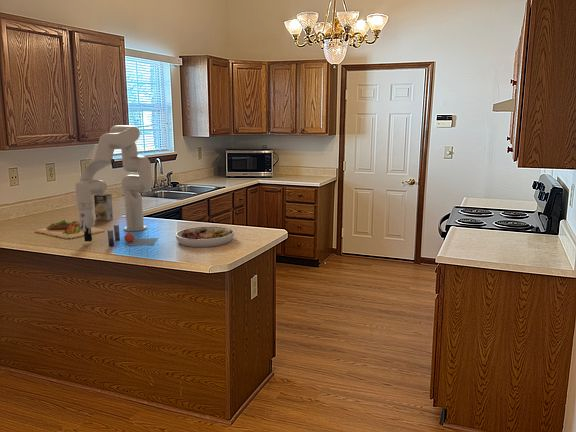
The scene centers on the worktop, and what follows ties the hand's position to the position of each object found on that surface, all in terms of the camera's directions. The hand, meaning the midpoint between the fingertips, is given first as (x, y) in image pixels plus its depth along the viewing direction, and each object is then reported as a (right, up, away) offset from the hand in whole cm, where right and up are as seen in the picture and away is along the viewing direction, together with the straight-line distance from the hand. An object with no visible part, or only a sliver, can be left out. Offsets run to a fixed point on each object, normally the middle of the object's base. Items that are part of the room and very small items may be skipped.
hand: (88, 240), depth 255 cm
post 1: (+13, -2, -4) cm, 14 cm away
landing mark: (+27, -1, +3) cm, 27 cm away
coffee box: (-15, +11, +62) cm, 65 cm away
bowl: (+60, -1, +4) cm, 60 cm away
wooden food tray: (-22, +3, +29) cm, 36 cm away
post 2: (+12, 0, +7) cm, 14 cm away
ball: (+21, +2, +1) cm, 21 cm away
